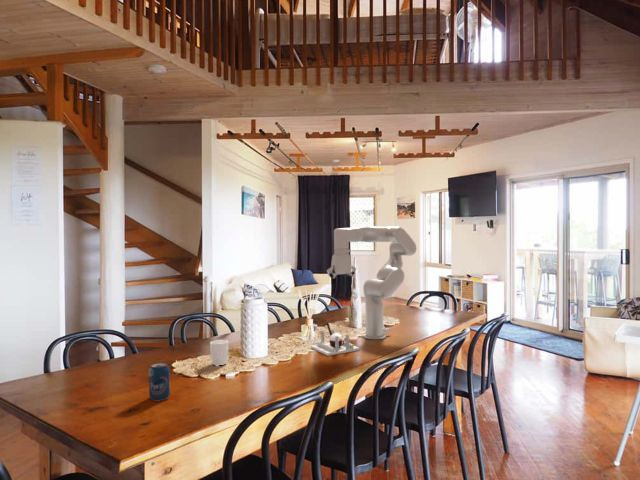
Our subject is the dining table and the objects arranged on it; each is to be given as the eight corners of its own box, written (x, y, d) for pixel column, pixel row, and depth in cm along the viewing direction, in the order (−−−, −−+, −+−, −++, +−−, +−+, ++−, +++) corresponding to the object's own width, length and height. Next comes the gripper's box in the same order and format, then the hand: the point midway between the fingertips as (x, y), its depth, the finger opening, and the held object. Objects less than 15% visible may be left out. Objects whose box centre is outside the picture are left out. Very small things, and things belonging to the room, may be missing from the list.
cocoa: (345, 348, 216) (347, 323, 215) (336, 350, 211) (337, 325, 211) (332, 343, 223) (333, 320, 222) (323, 345, 218) (324, 321, 218)
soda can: (149, 403, 152) (149, 368, 152) (149, 396, 159) (148, 363, 158) (170, 399, 155) (170, 365, 155) (169, 393, 161) (168, 360, 161)
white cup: (207, 364, 195) (206, 342, 195) (222, 360, 201) (221, 338, 200) (217, 368, 189) (216, 345, 189) (232, 363, 195) (231, 341, 195)
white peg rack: (341, 342, 228) (341, 327, 228) (359, 350, 214) (359, 333, 214) (311, 348, 219) (311, 331, 219) (327, 355, 205) (327, 338, 205)
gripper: (351, 251, 234) (351, 283, 234) (323, 252, 225) (323, 285, 225) (359, 251, 227) (359, 284, 228) (330, 253, 219) (331, 287, 219)
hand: (341, 285), depth 227 cm, fingers open, 9 cm apart
